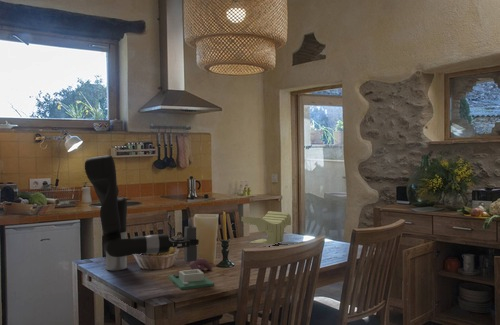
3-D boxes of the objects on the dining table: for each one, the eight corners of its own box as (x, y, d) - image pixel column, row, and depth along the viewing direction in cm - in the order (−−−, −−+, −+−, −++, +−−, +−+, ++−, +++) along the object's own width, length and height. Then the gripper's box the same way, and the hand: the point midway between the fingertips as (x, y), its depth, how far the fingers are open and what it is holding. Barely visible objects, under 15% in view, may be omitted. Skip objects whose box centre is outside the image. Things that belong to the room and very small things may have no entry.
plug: (184, 259, 201) (184, 219, 201) (195, 259, 203) (195, 219, 203) (186, 261, 197) (187, 220, 197) (198, 260, 199) (198, 220, 199)
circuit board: (168, 277, 207) (168, 268, 207) (199, 274, 212) (199, 265, 212) (180, 289, 189) (180, 279, 188) (214, 285, 194) (214, 275, 194)
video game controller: (206, 272, 223) (201, 258, 224) (213, 269, 220) (208, 254, 222) (191, 276, 215) (186, 261, 217) (198, 273, 212) (193, 258, 214)
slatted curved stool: (265, 250, 265) (265, 218, 264) (241, 247, 274) (241, 216, 273) (291, 242, 290) (291, 212, 289) (268, 239, 299) (268, 211, 298)
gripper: (160, 237, 188) (202, 234, 195) (152, 232, 201) (191, 229, 208) (160, 256, 188) (202, 252, 195) (152, 250, 201) (191, 247, 208)
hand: (196, 241), depth 201 cm, fingers closed on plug, 4 cm apart
